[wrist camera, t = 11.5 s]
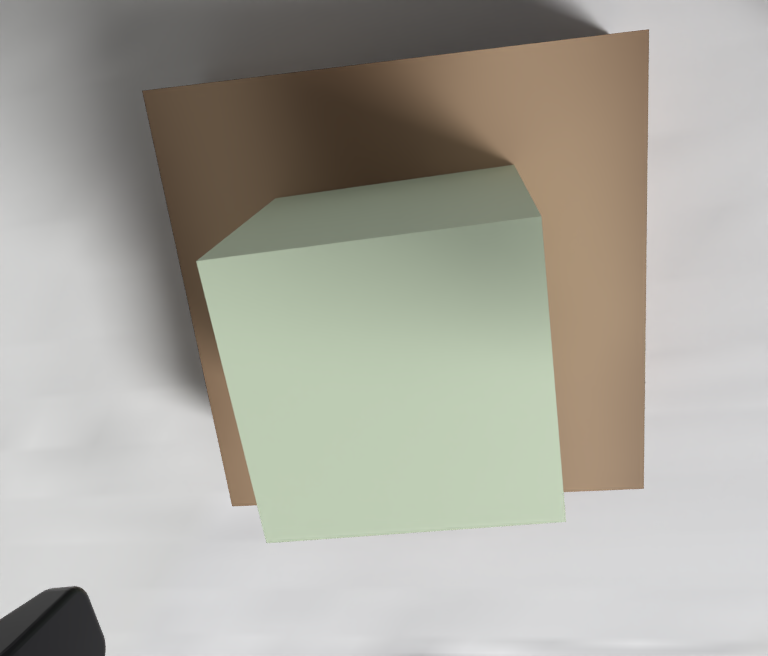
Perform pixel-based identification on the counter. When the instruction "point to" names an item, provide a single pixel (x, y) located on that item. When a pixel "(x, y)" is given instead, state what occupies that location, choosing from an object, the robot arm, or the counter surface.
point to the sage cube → (392, 357)
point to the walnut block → (438, 157)
